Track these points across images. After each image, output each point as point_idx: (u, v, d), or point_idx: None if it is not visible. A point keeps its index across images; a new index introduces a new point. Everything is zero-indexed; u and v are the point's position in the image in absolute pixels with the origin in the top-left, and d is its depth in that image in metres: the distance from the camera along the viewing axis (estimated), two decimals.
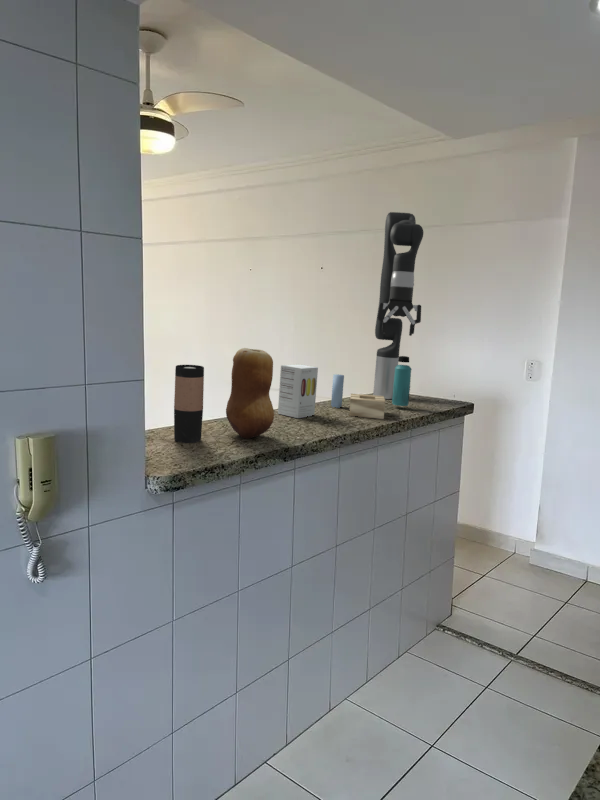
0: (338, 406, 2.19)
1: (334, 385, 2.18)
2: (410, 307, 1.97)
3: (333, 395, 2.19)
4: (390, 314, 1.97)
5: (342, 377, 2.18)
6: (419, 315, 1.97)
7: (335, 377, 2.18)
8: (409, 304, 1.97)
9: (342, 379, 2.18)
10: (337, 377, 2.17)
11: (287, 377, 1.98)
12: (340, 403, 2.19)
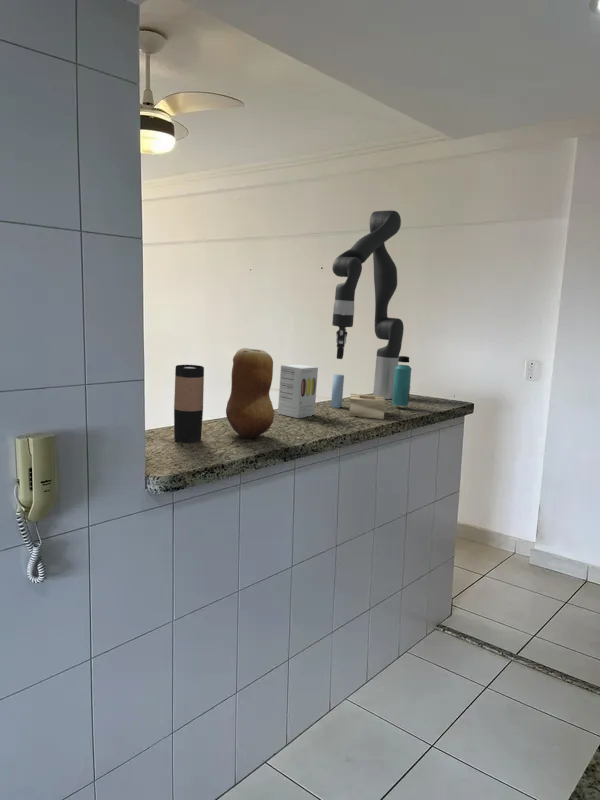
0: (338, 406, 2.19)
1: (334, 385, 2.18)
2: None
3: (333, 395, 2.19)
4: (345, 340, 2.14)
5: (342, 377, 2.18)
6: None
7: (335, 377, 2.18)
8: None
9: (342, 379, 2.18)
10: (337, 377, 2.17)
11: (287, 377, 1.98)
12: (340, 403, 2.19)
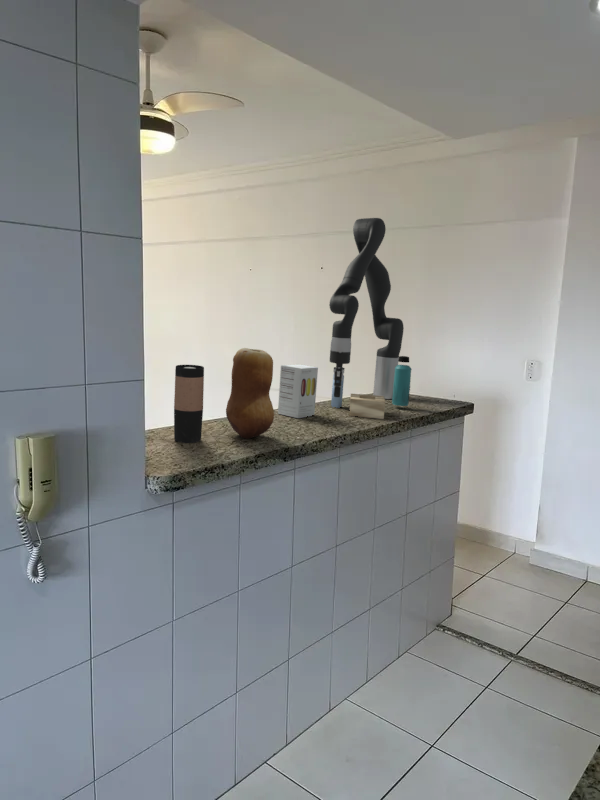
0: (338, 406, 2.19)
1: None
2: None
3: (333, 395, 2.19)
4: (342, 378, 2.17)
5: None
6: None
7: None
8: (342, 365, 2.21)
9: None
10: None
11: (287, 377, 1.98)
12: (340, 403, 2.19)
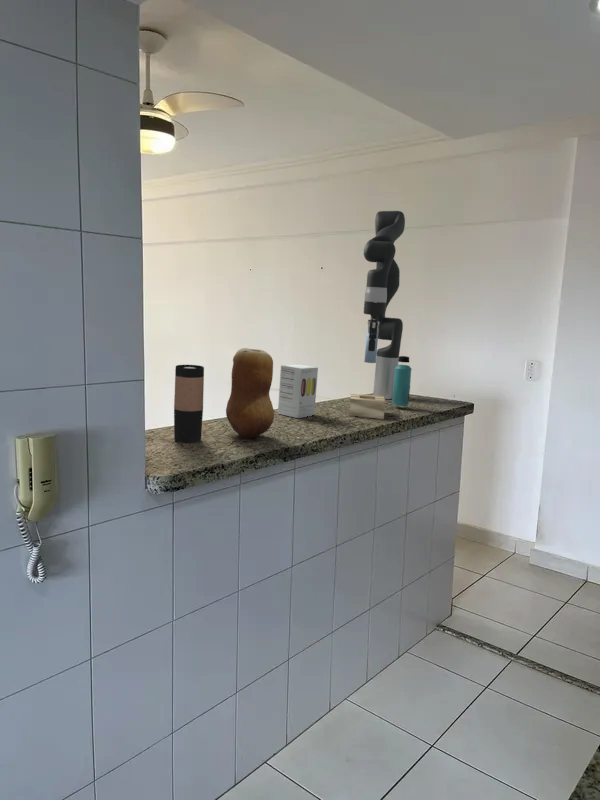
0: (372, 361, 2.06)
1: None
2: None
3: (367, 349, 2.06)
4: None
5: None
6: None
7: None
8: None
9: None
10: None
11: (287, 377, 1.98)
12: (374, 358, 2.07)
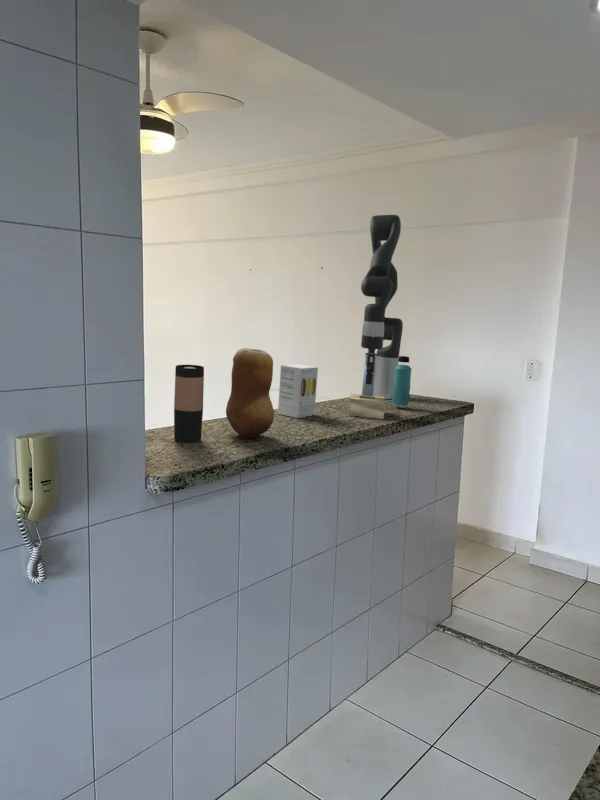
0: (370, 394, 2.08)
1: None
2: None
3: (364, 382, 2.08)
4: None
5: None
6: None
7: None
8: None
9: None
10: None
11: (287, 377, 1.98)
12: (372, 391, 2.09)
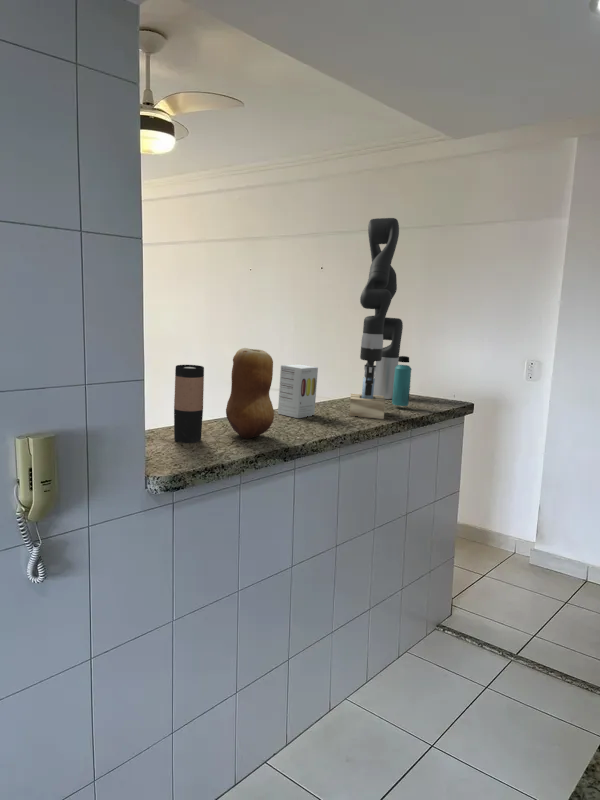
0: None
1: (364, 388, 2.09)
2: None
3: None
4: (374, 375, 2.06)
5: (373, 380, 2.08)
6: None
7: (365, 380, 2.08)
8: None
9: (373, 382, 2.08)
10: None
11: (287, 377, 1.98)
12: None
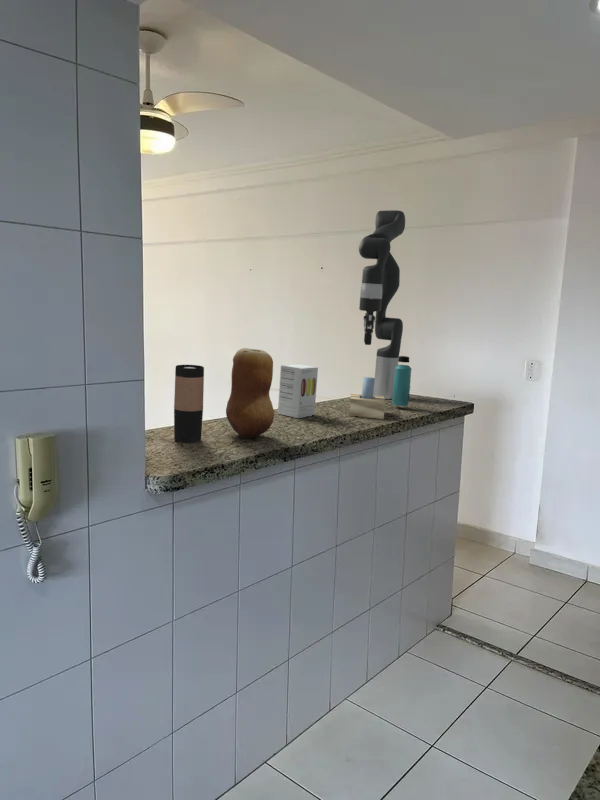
0: None
1: (364, 388, 2.08)
2: None
3: None
4: None
5: (373, 380, 2.08)
6: None
7: (365, 380, 2.08)
8: None
9: (373, 382, 2.08)
10: (368, 380, 2.07)
11: (287, 377, 1.98)
12: None
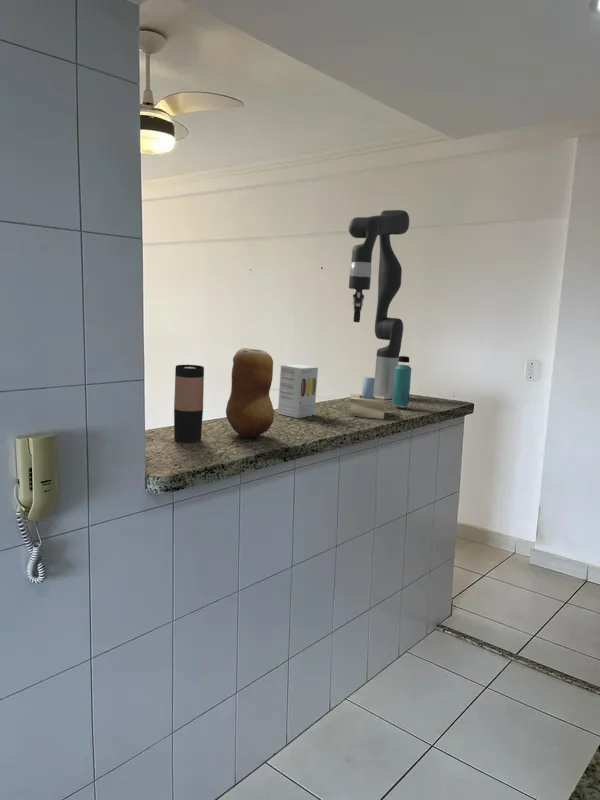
0: None
1: (364, 388, 2.08)
2: None
3: None
4: (362, 303, 2.09)
5: (373, 380, 2.08)
6: None
7: (365, 380, 2.08)
8: None
9: (373, 382, 2.08)
10: (368, 380, 2.07)
11: (287, 377, 1.98)
12: None
